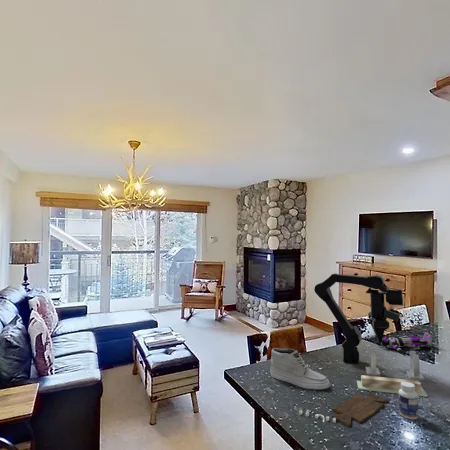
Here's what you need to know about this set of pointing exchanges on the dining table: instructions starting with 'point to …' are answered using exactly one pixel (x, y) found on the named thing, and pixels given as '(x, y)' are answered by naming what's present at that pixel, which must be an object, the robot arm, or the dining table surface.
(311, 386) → the chukka sneaker
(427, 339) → the figurine
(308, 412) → the figurines set
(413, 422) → the dining table surface
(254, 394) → the dining table surface
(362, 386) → the mat
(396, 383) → the rail
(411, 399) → the pill bottle
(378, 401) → the brown notched wooden board
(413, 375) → the hook standards
